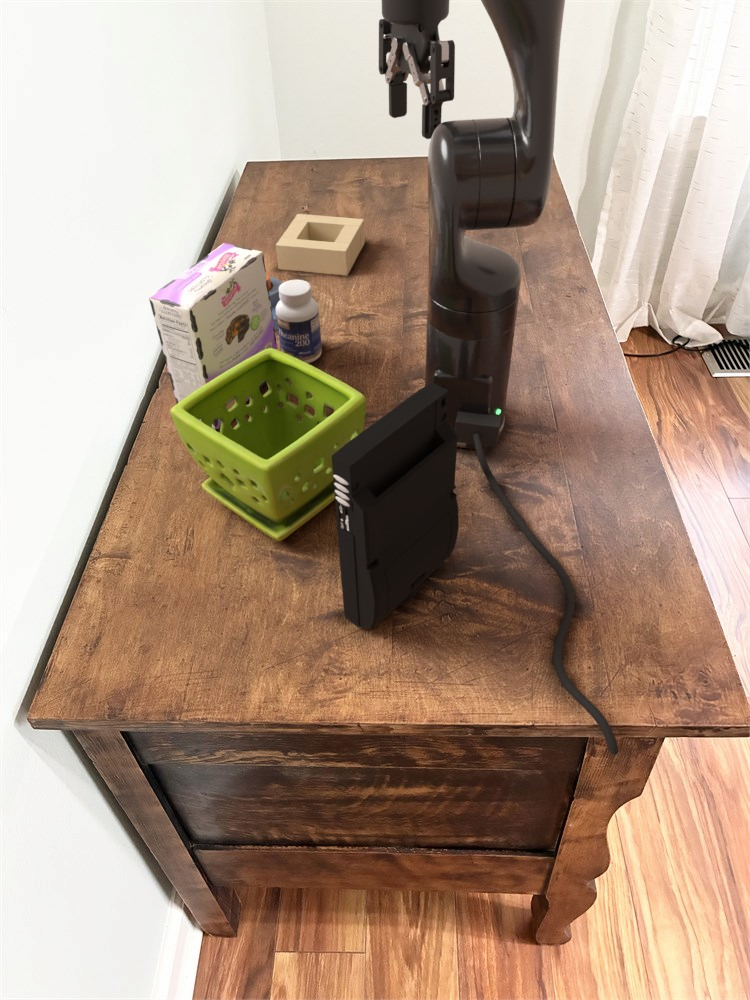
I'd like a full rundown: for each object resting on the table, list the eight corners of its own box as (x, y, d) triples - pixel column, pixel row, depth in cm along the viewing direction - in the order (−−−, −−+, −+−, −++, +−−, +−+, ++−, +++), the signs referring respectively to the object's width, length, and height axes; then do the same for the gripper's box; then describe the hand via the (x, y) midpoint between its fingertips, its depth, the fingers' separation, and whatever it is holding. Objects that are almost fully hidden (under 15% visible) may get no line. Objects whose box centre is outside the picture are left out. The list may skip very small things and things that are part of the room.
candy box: (244, 359, 99) (223, 239, 87) (282, 370, 97) (265, 250, 85) (178, 418, 90) (145, 294, 79) (217, 432, 88) (189, 307, 77)
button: (267, 295, 104) (265, 284, 103) (245, 293, 105) (243, 282, 104) (274, 284, 106) (273, 273, 105) (253, 282, 107) (251, 271, 106)
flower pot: (190, 501, 80) (163, 406, 71) (283, 436, 87) (270, 342, 78) (282, 565, 73) (265, 469, 64) (375, 489, 81) (371, 393, 72)
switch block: (278, 330, 104) (275, 307, 101) (223, 324, 105) (219, 301, 103) (299, 293, 111) (297, 271, 108) (248, 288, 112) (245, 266, 110)
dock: (347, 275, 114) (346, 251, 111) (278, 269, 116) (275, 244, 113) (364, 243, 122) (363, 218, 119) (299, 237, 124) (297, 213, 121)
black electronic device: (421, 543, 75) (426, 378, 61) (458, 565, 73) (472, 399, 59) (339, 618, 69) (323, 453, 55) (377, 645, 67) (370, 481, 52)
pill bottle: (275, 362, 98) (265, 295, 91) (290, 340, 102) (282, 274, 95) (314, 368, 97) (307, 300, 90) (327, 346, 101) (322, 279, 94)
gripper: (356, -39, 85) (361, 115, 96) (416, -18, 76) (415, 150, 87) (414, -47, 87) (413, 105, 98) (480, -26, 78) (470, 138, 89)
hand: (414, 126), depth 93 cm, fingers open, 8 cm apart
